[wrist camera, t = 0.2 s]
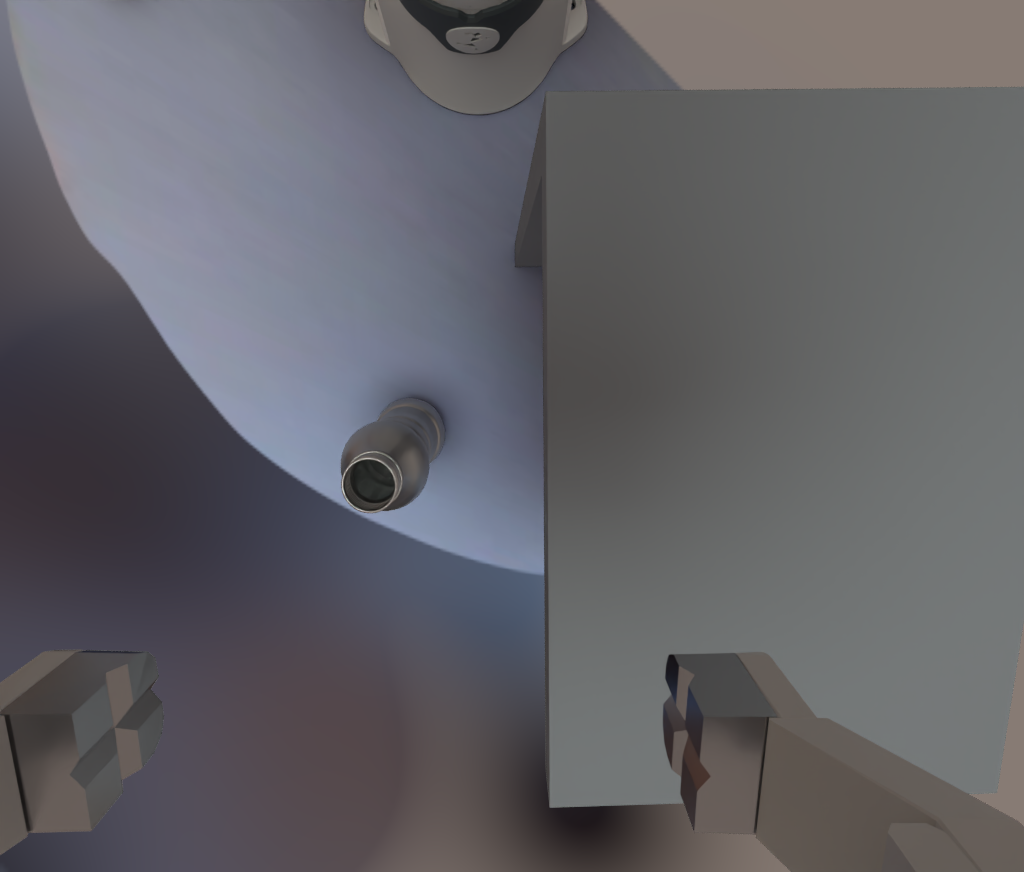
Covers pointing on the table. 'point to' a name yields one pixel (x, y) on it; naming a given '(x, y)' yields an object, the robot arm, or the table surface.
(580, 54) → the table surface
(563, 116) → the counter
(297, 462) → the table surface
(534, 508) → the table surface
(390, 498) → the plastic bottle
